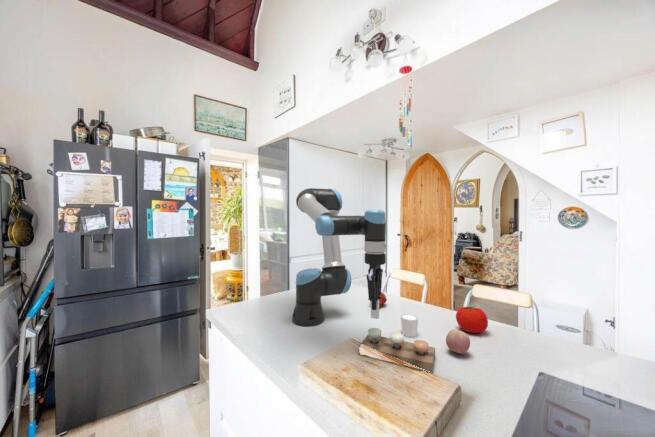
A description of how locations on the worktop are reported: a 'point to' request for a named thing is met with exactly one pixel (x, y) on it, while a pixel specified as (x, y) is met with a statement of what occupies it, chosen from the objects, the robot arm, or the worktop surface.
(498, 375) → the worktop surface
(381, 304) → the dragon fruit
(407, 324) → the white cylinder
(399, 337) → the button ivory
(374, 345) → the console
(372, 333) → the button sage
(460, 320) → the tomato
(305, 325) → the robot arm
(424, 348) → the button terracotta
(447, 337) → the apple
